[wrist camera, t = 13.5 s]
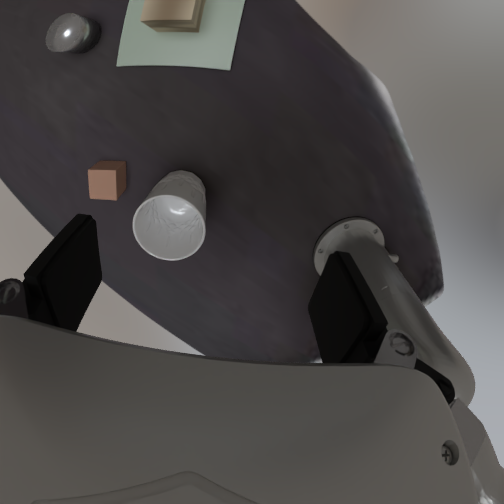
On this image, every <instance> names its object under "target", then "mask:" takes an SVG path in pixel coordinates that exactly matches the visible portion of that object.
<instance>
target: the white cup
mask: <svg viewBox="0 0 504 504" xmlns="http://www.w3.org/2000/svg"><path fill="white" fill-rule="evenodd" d="M205 191H206V190H205V187H204V185H203V183H202V181H201V179H200V178H198V177H197V176H196V175H195V174H193V173H192V172H188V171H183V170H179V171H174V172H170V173H169V174H167V175H166V176H165V177H163V178H162V179H161V180H160V182H158V183H157V185H156V186H155V187H154V188H153V189H152V190H151V192H150V193H149V194H148V195H147V197H146V198H145V199H144V201H143V202H142V203H141V205H140V206H139V207H138V209H137V211H136V212H135V215H134V218H133V232H134V235H135V238H136V240H137V242H138V243H139V244H140V246H141V247H142V248H143V249H144V250H145V251H146V252H148V253H149V254H151V255H153V256H155V257H157V258H160V259H164V260H180V259H184V258H187V257H189V256H191V255H192V254H194V253H195V252H196V251H197V250H198V249H199V248H200V246H201V245H202V243H203V241H204V238H205V227H206V198H205Z"/></svg>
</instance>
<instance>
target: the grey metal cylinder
mask: <svg viewBox="0 0 504 504" xmlns="http://www.w3.org/2000/svg"><path fill="white" fill-rule="evenodd" d="M100 37H101V26H100V24H99V23H98V22H97V21H94V20H91V19H89V18H86V17H83V16H80V15H76V14H73V13H67V14H64V15H62V16H60V17H59V18H57V19H56V20H55V21H54V22H53V23H52V25H51V26H50V28H49V30H48V32H47V35H46V45H47V47H48V49H49V50H51V51H54V52H68V53H85V52H88V51H89V50H91V49H92V48H93V47H94V46H95V45H96V44H97V43H98V41H99V39H100Z"/></svg>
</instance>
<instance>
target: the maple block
mask: <svg viewBox="0 0 504 504" xmlns="http://www.w3.org/2000/svg"><path fill="white" fill-rule="evenodd" d="M205 1H206V0H145V1H144V5H143V10H142V14H141V19H140V21H141V22H142V23H144V24H146V25H147V26H149V27H150V28H152V29H153V30H155V31H156V32H195V33H199V29H200V24H201V19H202V14H203V10H204V5H205Z"/></svg>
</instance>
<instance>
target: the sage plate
mask: <svg viewBox="0 0 504 504" xmlns="http://www.w3.org/2000/svg"><path fill="white" fill-rule="evenodd" d="M144 1H145V0H130V1H129V4H128V8H127V12H126V17H125V21H124V26H123V31H122V36H121V41H120V47H119V53H118V59H117V66H118V67H122V66H184V67H199V68H210V69H220V70H228V71H230V68H231V63H232V57H233V52H234V48H235V43H236V38H237V33H238V29H239V24H240V20H241V15H242V11H243V7H244V2H245V0H206V1H205V5H204V10H203V14H202V19H201V24H200V29H199V33H195V32H156V31H155V30H153V29H152V28H150V27H149V26H147V25H146V24H144V23H142V22H141V21H140V19H141V14H142V10H143V5H144Z"/></svg>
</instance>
